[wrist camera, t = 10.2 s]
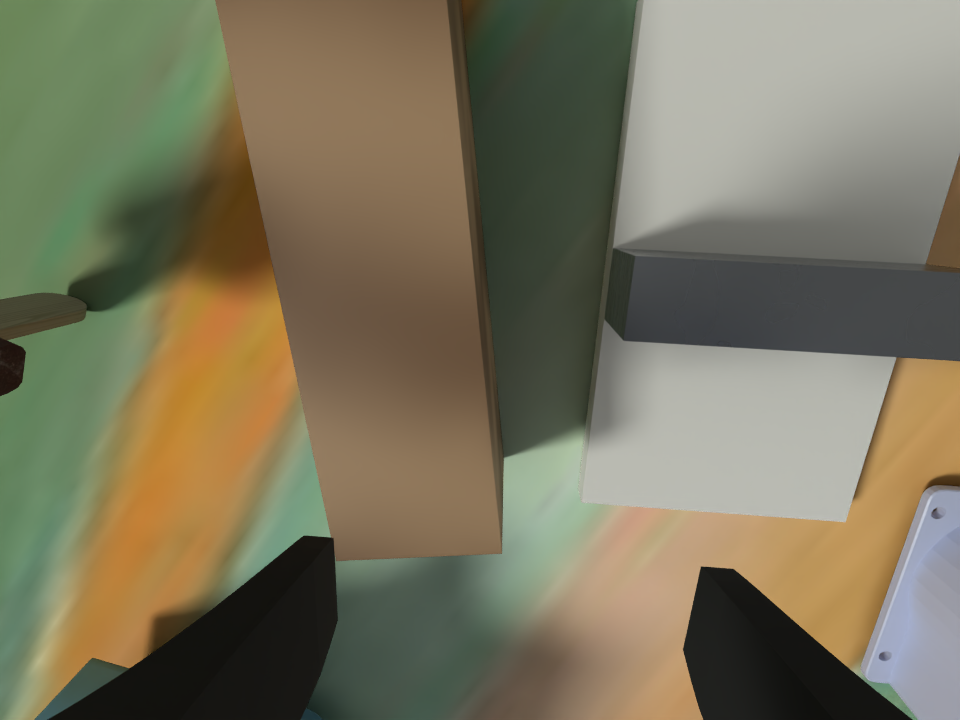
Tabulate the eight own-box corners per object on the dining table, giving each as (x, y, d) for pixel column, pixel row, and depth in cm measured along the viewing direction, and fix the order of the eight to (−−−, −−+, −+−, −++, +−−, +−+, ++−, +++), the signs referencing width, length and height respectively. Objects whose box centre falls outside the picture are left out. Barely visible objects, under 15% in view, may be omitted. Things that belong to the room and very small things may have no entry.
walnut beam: (336, 560, 15) (384, 462, 20) (501, 553, 14) (503, 455, 20) (197, -83, 10) (309, 22, 16) (434, -121, 10) (461, 1, 15)
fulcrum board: (828, 506, 20) (906, 578, 16) (578, 488, 20) (594, 554, 16) (975, 13, 15) (1140, -57, 11) (636, 2, 15) (679, -69, 11)
